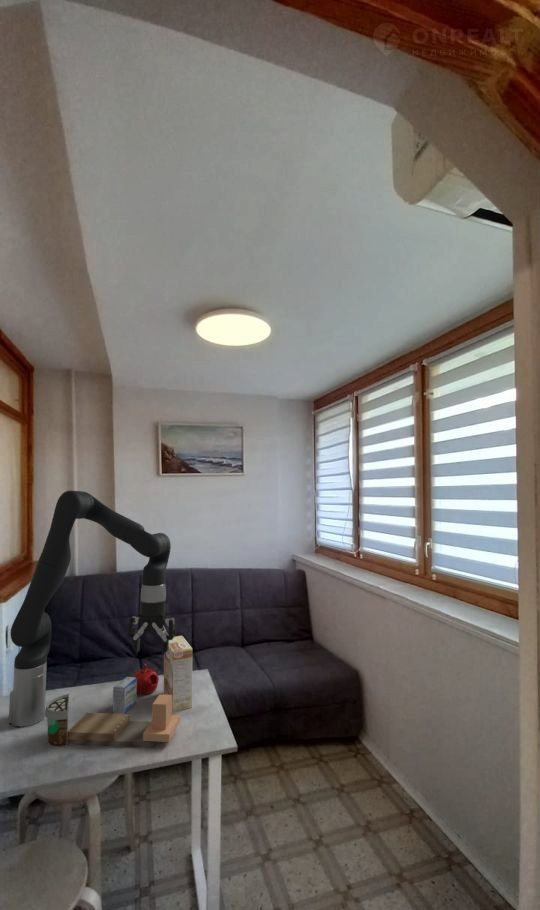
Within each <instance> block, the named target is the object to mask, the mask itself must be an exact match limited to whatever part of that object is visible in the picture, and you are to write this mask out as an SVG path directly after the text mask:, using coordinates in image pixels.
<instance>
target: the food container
mask: <svg viewBox="0 0 540 910" xmlns="http://www.w3.org/2000/svg"><path fill="white" fill-rule="evenodd" d="M69 695H70V694H69V693H66V694H62V695H59V696H57V697H55V698H53V699H52V700H50V701H49V702H48V703H47V705H46V706H45V716H44V717H45V718H47V719H46V721H47V742H48V744H49V746H53V747H64V746H65V745H66V746H67V733H68V731H69V730H68V725H69V723H68V721H69V698H70V697H69ZM66 746H65V747H66Z"/></svg>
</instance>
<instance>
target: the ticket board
mask: <svg viewBox="0 0 540 910" xmlns="http://www.w3.org/2000/svg"><path fill="white" fill-rule="evenodd" d="M151 721H152V720H151ZM151 721H150V720H148V721H146V720H131V714H130V713H126V714H115V713H113V712H112V713H110V712H86V713H85V714H84V715H82V716H81V718H80V719H79V720H78V721H77V722H76V723H75V724H74V725H72V727H71V728H70V729H69V730H67V742H66V746H88V747H89V746H90V747H94V746H95V747H114V748H118V747H119V748H143V749H144V748H145V749H156V748H157V746H158V744H159V743H160V742H157V741H143V733H144V731H145V730H146V728H147V727H148V725H149V724H150V722H151Z"/></svg>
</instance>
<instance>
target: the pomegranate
mask: <svg viewBox="0 0 540 910" xmlns="http://www.w3.org/2000/svg"><path fill="white" fill-rule="evenodd" d="M134 670H136V671H137V672H135V673H134V674H133V675H132V677H134V678H137V695H147V694H148V695H149V694H151V693H153V692H155V690H156V689H157V688H158V685H159V679H160V677H159V674H157V672H156V671H155V670H156V668H154V667H150V668H147V663H144V664H143V669H141V668H134Z"/></svg>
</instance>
